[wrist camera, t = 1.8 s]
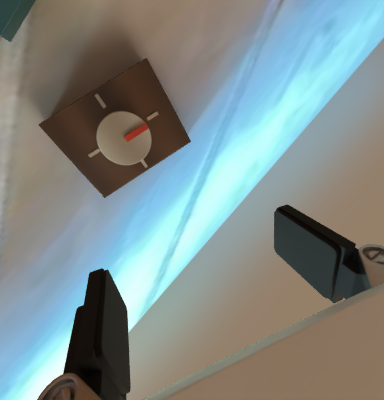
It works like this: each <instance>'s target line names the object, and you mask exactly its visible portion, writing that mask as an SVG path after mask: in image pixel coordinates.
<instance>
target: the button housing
mask: <svg viewBox="0 0 384 400" xmlns="http://www.w3.org/2000/svg"><path fill="white" fill-rule="evenodd" d="M34 2H35V0H0V36H1V37H3V38H5V39H6V40H8V41H10V42H11V40H12V39H13V37H14V35H15V34H16V32H17V30H18V29H19V27H20V25H21V24H22V22H23V20H24V19H25V17H26V15H27V14H28V12H29V10H30V9H31V7H32V5H33V4H34Z"/></svg>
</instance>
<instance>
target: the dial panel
mask: <svg viewBox="0 0 384 400" xmlns="http://www.w3.org/2000/svg"><path fill="white" fill-rule="evenodd" d="M120 110H122V111H128V112H131V113H133V114H135V115H137V116H139V117H140V118H141V119H142V120H143V121H144V122H145V123H146V125H147V126H148V128H149V130H150V133H151V147H150V150H149V152H148V154H147V155H146V157H145V158H144V159H143V160H141V161H140V162H138V163H136V164H132V165H120V164H117V163H114V162H112V161H110V160H109V159H108V158H107V157H105V156H104V154H103V153H102V152H101V150H100V148H99V146H98V143H97V137H96V136H97V129H98V126H99V124H100V122H101V121H102V120H103V119H104V118H105V117H106V116H107V115H108V114H110V113H111V112H114V111H120ZM39 126H40V127H41V128H42V129H43V130H44V131H45V133H46V134H47V135H48V136H49V137H50V138H51V139H52V140H53V141H54V143H55V144H56V145H57V146H58V147H59V148H60V149H61V150H62V151H63V153H64V154H65V155H66V156H67V157H68V158H69V159H70V160H71V161H72V163H73V164H74V165H75V166H76V167H77V168H78V169H79V170H80V171H81V173H82V174H83V175H84V176H85V177H86V178H87V179H88V180H89V181H90V182H91V184H92V185H93V186H94V187H95V188H96V189H97V190H98V191H99V192H100V194H101V195H102V196H103V197H104V198H105V197H107V196H108V195H110V194H111V193H113V192H115V191H116V190H118V189H119V188H121V187H122V186H124V185H125V184H127V183H128V182H130V181H131V180H133V179H134V178H136V177H138V176H139V175H141V174H142V173H144V172H145V171H147V170H148V169H150V168H151V167H153V166H154V165H156V164H157V163H159V162H161V161H162V160H164V159H165V158H167V157H168V156H170V155H171V154H173V153H174V152H176V151H177V150H179V149H181V148H182V147H184V146H185V145H187V144H188V143H190V142H191V141H190V139H189V137H188V135H187V133H186V131H185V129H184V127H183V126H182V124H181V122H180V120H179V118H178V116H177V114H176V112H175V110H174V109H173V107H172V105H171V103H170V101H169V99H168V97H167V95H166V93H165V92H164V90H163V88H162V86H161V84H160V82H159V80H158V78H157V76H156V75H155V73H154V71H153V69H152V67H151V65H150V63H149V61H148V60H147V58H145V59H144V60H142V61H141V62H139V63H137V64H136V65H134V66H133V67H131V68H129V69H128V70H126V71H124V72H123V73H121V74H120V75H118V76H116V77H115V78H113V79H111V80H110V81H108V82H107V83H105V84H103V85H102V86H100V87H98V88H97V89H95V90H94V91H92V92H90V93H89V94H87V95H86V96H84V97H82V98H81V99H79V100H77V101H76V102H74V103H73V104H71V105H69V106H68V107H66V108H64V109H63V110H61V111H60V112H58V113H56V114H55V115H53V116H52V117H50V118H48V119H47V120H45V121H43V122H42V123H40V124H39Z"/></svg>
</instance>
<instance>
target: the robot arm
mask: <svg viewBox="0 0 384 400" xmlns="http://www.w3.org/2000/svg"><path fill="white" fill-rule="evenodd" d="M355 245H356V244H355V243H353V242H351V241H350V240H348V239H346V238H344V237H342V236H341V235H339V234H337V233H336V232H334V231H332V230H331V229H329V228H327V227H325V226H324V225H322V224H320V223H319V222H317V221H315V220H313V219H312V218H310V217H308V216H306V215H305V214H303V213H301V212H300V211H298V210H296V209H294V208H293V207H291V206H289V205H284V206H281V207H278V208H277V209H276V211H275V213H274V249H275V251H276V253H277V254H278V255H279V256H280V257H281V258H282V259H283V260H285V261H286V262H287V263H288V264H289V265H290V266H291V267H292V268H293V269H294V270H295V271H296V272H297V273H299V274H300V275H301V276H302V277H303V278H304V279H305V280H306V281H307V282H308V283H309V284H310V285H311V286H313V287H314V288H315V289H316V290H317V291H318V292H319V293H320V294H321V295H322V296H323V297H325V298H328V299H330V300H331V301H332V302H333V303H336V302H338V301H340V300H342V299H343V297H344V298H345V299H346V300H344V301H341V302H339V303H337V304H335V305H333V306H331V307H329V308H327V309H325V310H323V311H321V312H318V313H317V314H314V315H312V316H310V317H308V318H306V319H304V320H302V321H300V322H298V323H296V324H293V325H291V326H289V327H287V328H285V329H283V330H281V331H279V332H277V333H275V334H273V335H271V336H269V337H267V338H265V339H262V340H260V341H259V342H256V343H255V344H252V345H250V346H248V347H246V348H244V349H242V350H240V351H238V352H236V353H234V354H232V355H230V356H228V357H226V358H224V359H222V360H220V361H218V362H216V363H214V364H211V365H209V366H208V367H205V368H203V369H201V370H199V371H197V372H195V373H193V374H191V375H189V376H187V377H185V378H183V379H181V380H180V381H178V382H176V383H174V384H172V385H170V386H168V387H166V388H164V389H162V390H160V391H158V392H156V393H154V394H152V395H150V396H149V397H147V398H145V399H144V400H384V247H383V246H379V245H373V244H371V245H370V244H368V245H363V246H361V247H360V248H359V250H358V249H357V248H355ZM128 342H129V341H128V318H127V308H126V305H125V303H124V301H123V299H122V297H121V295H120V293H119V291H118V289H117V287H116V285H115V283H114V281H113V279H112V277H111V275H110V273H109V271H108V270H105V271H104V269H103V268H102V269H99V270H96V271H93V272H90V273H89V278H88V284H87V290H86V295H85V301H84V305H83V306H80V307H78V309H77V311H76V314H75V319H74V324H73V329H72V334H71V339H70V344H69V348H68V353H67V358H66V363H65V368H64V373H63V375H61V376H59V377H57V378H56V379H54V380H53V381H52V382H51V383H50V384H49V385H48V386H47V387H46V388H45V389H44V390H43V392H42V393H41V394H40V396H39V398H38V399H37V400H126V394H127V393H129V392H130V365H129V343H128Z"/></svg>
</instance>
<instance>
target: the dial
mask: <svg viewBox="0 0 384 400" xmlns="http://www.w3.org/2000/svg"><path fill="white" fill-rule="evenodd" d="M96 137H97V143H98V146H99V148H100V150H101V152H102V153H103V154H104V156H105V157H107V158H108V159H109V160H110V161H112V162H114V163H117V164H120V165H132V164H136V163H138V162H140V161H141V160H143V159H144V158H145V157H146V155H147V154H148V152H149V150H150V147H151V133H150V130H149V128H148V126H147V125H146V123H145V122H144V121H143V120H142V119H141V118H140V117H139V116H137V115H135V114H133V113H131V112H128V111H122V110H120V111H114V112H111V113H110V114H108V115H107V116H106V117H105V118H104V119H103V120H102V121H101V122H100V124H99V126H98V129H97V136H96Z"/></svg>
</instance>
